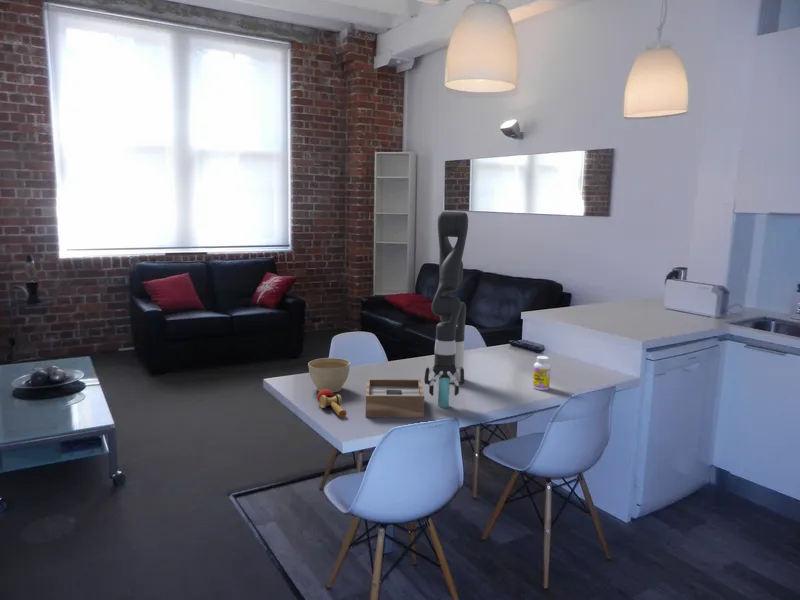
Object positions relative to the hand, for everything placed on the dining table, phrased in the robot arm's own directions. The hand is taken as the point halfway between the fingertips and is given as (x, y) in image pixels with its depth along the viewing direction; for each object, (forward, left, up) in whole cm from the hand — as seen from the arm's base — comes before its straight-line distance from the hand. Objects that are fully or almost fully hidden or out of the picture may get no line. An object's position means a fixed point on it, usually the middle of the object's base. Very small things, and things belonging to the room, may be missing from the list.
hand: (443, 395), depth 217 cm
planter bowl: (-18, -43, -4) cm, 47 cm away
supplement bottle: (-23, +42, -4) cm, 48 cm away
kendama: (+5, -40, -5) cm, 40 cm away
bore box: (+2, -18, -4) cm, 19 cm away
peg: (0, 0, -4) cm, 4 cm away
